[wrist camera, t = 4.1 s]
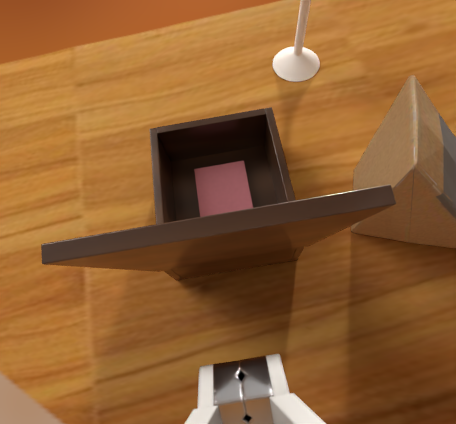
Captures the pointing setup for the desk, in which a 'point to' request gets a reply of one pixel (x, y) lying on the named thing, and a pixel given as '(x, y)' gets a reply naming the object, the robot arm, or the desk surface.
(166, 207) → the chest
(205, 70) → the desk surface
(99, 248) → the chest lid
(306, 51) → the champagne flute
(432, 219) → the sandwich container
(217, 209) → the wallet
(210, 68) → the desk surface
